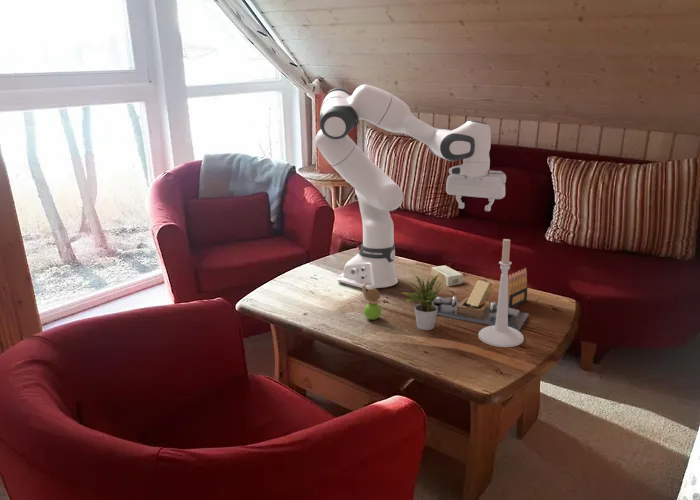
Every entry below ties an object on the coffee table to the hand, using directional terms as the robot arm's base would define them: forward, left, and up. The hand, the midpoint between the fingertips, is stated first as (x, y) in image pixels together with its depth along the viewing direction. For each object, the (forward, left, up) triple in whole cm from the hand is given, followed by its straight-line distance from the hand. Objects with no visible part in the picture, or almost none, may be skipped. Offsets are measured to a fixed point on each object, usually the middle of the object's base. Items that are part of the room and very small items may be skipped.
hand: (474, 209), depth 199 cm
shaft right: (+18, -23, -28) cm, 41 cm away
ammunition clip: (+18, -8, -29) cm, 35 cm away
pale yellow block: (+8, -23, -26) cm, 36 cm away
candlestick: (+20, -35, -29) cm, 50 cm away
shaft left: (-2, -24, -28) cm, 37 cm away
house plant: (-3, -37, -29) cm, 47 cm away
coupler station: (+8, -22, -29) cm, 37 cm away
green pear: (-20, -40, -29) cm, 53 cm away
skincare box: (-6, -1, -27) cm, 27 cm away
